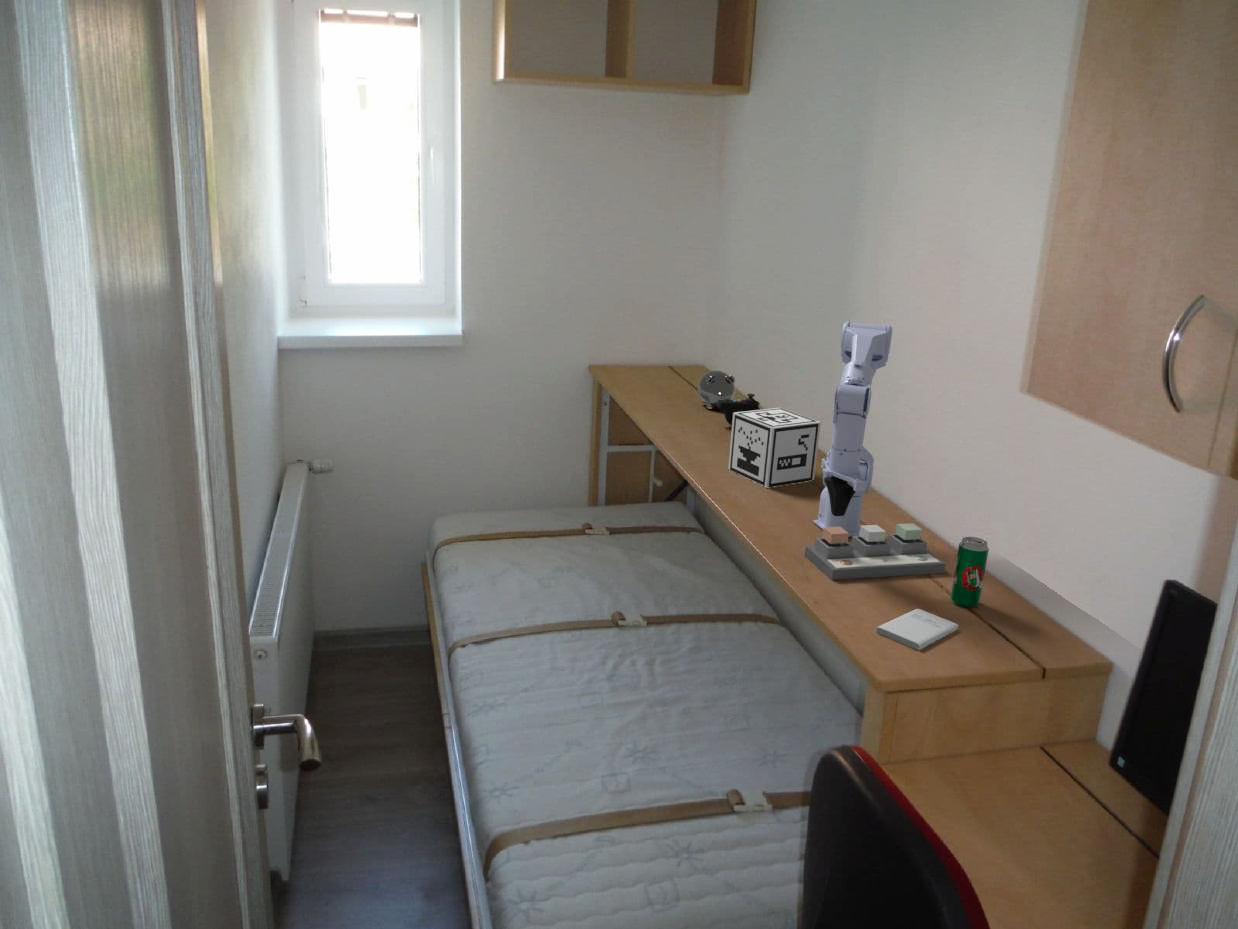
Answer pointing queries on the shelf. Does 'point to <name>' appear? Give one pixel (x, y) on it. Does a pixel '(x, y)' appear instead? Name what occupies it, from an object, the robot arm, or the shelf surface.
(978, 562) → the soda can
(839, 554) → the button board
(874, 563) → the pattern card
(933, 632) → the external hard drive
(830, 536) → the terracotta button
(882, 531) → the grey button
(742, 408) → the controller
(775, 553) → the shelf surface
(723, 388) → the piggy bank
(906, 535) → the sage button
